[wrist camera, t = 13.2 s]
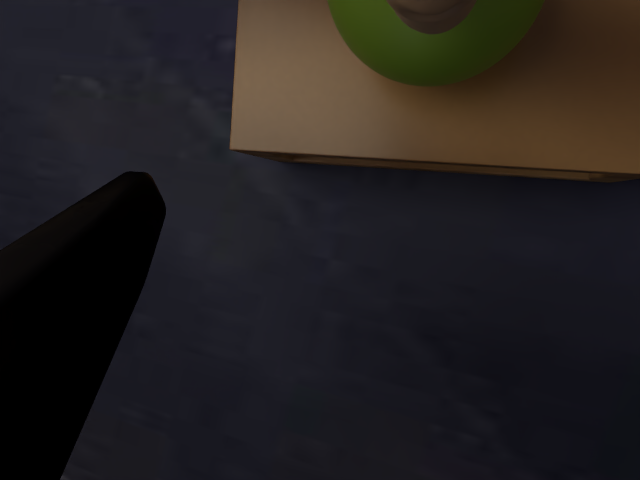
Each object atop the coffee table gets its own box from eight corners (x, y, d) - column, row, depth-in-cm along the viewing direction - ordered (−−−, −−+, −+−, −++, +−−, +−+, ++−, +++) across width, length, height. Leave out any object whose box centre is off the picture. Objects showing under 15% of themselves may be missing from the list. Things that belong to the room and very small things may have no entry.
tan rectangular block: (611, 182, 19) (664, 175, 14) (278, 161, 22) (228, 149, 17) (644, -74, 18) (713, -175, 13) (293, -57, 21) (246, -133, 16)
